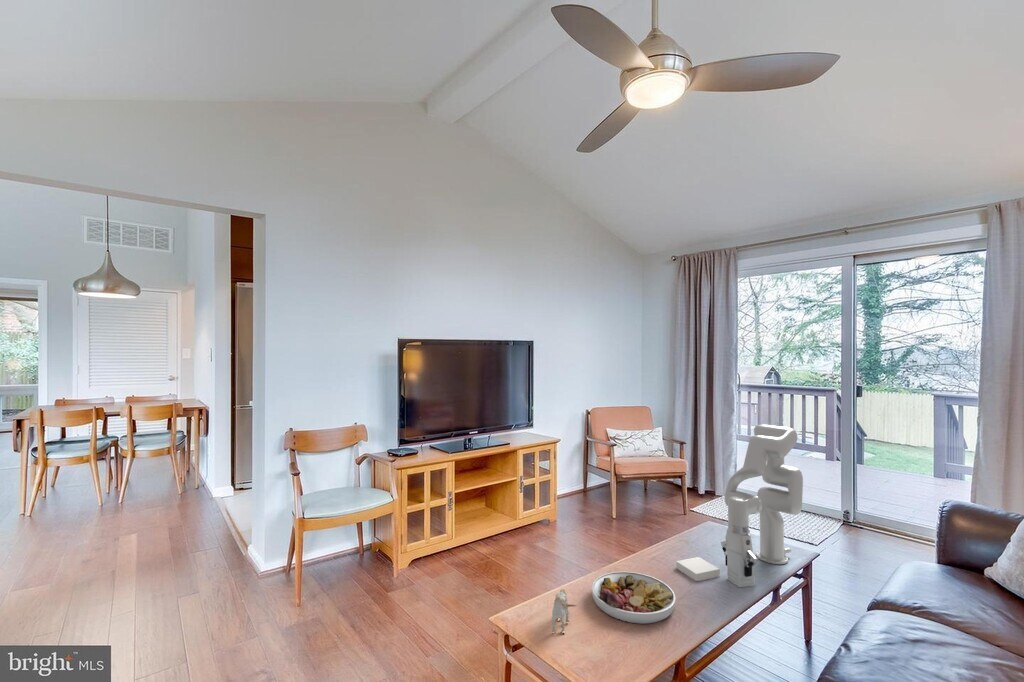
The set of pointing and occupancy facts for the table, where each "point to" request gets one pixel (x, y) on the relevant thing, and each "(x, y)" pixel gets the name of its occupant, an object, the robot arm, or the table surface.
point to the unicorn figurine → (560, 609)
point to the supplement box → (738, 570)
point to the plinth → (697, 568)
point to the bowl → (633, 597)
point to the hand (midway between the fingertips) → (738, 570)
